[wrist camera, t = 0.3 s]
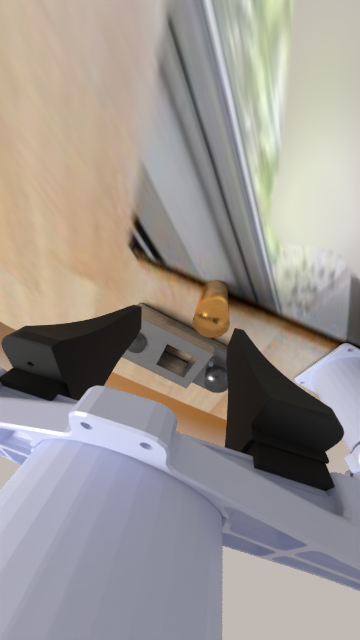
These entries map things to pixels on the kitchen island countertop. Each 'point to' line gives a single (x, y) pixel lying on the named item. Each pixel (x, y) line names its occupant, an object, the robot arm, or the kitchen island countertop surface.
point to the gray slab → (205, 351)
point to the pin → (212, 310)
